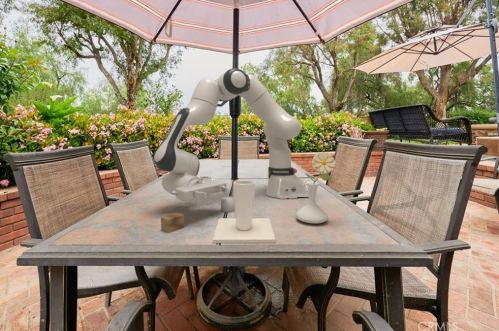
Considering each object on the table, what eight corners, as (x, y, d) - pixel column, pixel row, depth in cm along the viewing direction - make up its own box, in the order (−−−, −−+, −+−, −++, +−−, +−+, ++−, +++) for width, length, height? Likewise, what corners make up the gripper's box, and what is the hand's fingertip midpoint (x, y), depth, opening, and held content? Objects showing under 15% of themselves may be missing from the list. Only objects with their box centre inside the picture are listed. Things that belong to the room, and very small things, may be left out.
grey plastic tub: (235, 208, 106) (235, 196, 105) (235, 212, 100) (235, 200, 99) (221, 208, 106) (221, 196, 105) (220, 212, 100) (219, 200, 99)
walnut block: (177, 225, 86) (176, 212, 86) (184, 228, 84) (183, 214, 83) (161, 230, 82) (160, 217, 81) (168, 233, 79) (167, 219, 79)
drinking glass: (229, 227, 81) (228, 182, 79) (243, 222, 86) (244, 179, 84) (243, 233, 76) (243, 185, 74) (258, 227, 81) (259, 182, 79)
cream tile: (269, 221, 90) (269, 218, 90) (275, 242, 72) (275, 239, 72) (219, 221, 90) (219, 218, 90) (212, 243, 72) (212, 239, 72)
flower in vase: (292, 223, 87) (294, 152, 84) (298, 214, 98) (300, 150, 95) (332, 229, 83) (335, 153, 80) (333, 218, 94) (336, 150, 90)
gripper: (167, 183, 88) (193, 189, 79) (211, 176, 103) (236, 180, 95) (168, 201, 88) (193, 208, 80) (211, 191, 104) (236, 196, 95)
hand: (217, 193), depth 87 cm, fingers open, 8 cm apart
